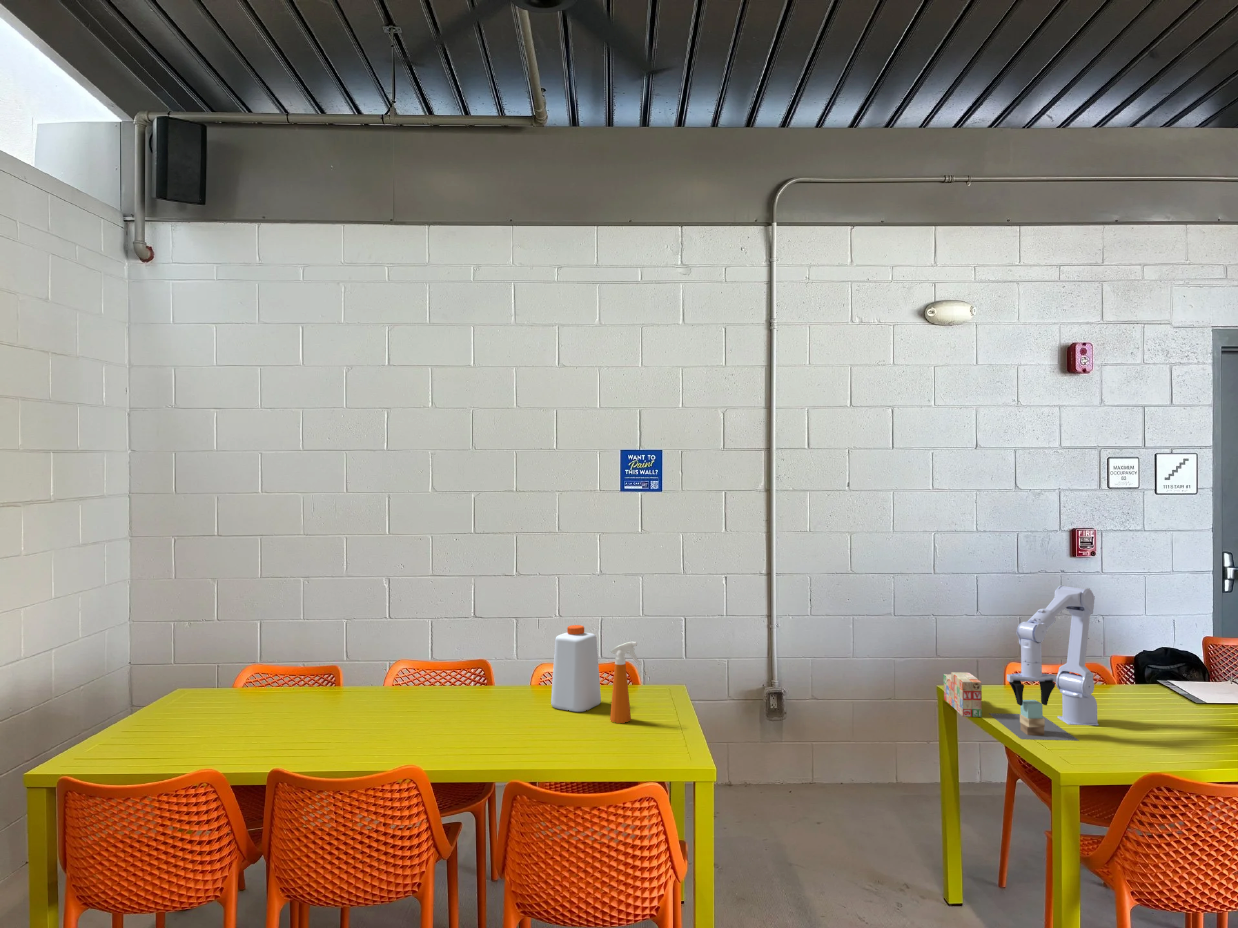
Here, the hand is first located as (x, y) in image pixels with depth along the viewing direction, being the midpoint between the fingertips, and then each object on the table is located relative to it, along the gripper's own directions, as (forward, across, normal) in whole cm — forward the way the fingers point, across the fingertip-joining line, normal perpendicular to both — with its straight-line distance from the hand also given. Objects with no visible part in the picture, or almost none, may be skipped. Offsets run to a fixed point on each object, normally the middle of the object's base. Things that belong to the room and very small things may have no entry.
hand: (1032, 704), depth 245 cm
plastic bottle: (+9, +145, -31) cm, 149 cm away
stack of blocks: (+10, +10, -27) cm, 30 cm away
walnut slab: (+9, 0, 0) cm, 9 cm away
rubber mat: (+9, -3, -6) cm, 11 cm away
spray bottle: (+9, +127, -14) cm, 128 cm away
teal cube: (+4, 0, 0) cm, 4 cm away
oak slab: (+6, 0, 0) cm, 6 cm away
